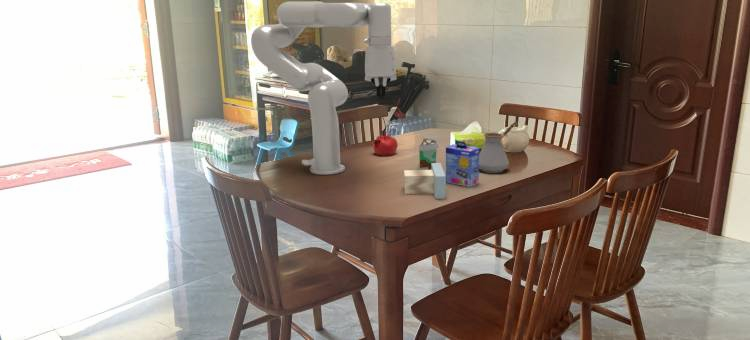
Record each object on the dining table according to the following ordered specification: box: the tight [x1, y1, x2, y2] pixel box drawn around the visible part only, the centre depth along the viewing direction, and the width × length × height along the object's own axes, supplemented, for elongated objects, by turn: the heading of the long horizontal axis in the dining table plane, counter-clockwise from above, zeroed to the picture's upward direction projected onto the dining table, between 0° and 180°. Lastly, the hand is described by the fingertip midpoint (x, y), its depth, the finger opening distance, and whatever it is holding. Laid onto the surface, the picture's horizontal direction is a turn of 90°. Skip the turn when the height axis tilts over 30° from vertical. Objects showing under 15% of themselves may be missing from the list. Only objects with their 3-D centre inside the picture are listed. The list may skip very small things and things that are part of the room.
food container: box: [418, 137, 439, 170], centre depth 207 cm, size 12×6×10 cm, turn 168°
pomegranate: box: [372, 131, 399, 157], centre depth 231 cm, size 10×10×9 cm
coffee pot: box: [479, 122, 519, 174], centre depth 206 cm, size 21×12×15 cm, turn 138°
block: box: [403, 169, 434, 195], centre depth 183 cm, size 9×7×6 cm
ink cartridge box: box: [445, 140, 480, 188], centre depth 188 cm, size 10×6×14 cm, turn 51°
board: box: [431, 162, 447, 200], centre depth 182 cm, size 3×16×7 cm, turn 179°
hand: (381, 97), depth 194 cm, fingers closed
